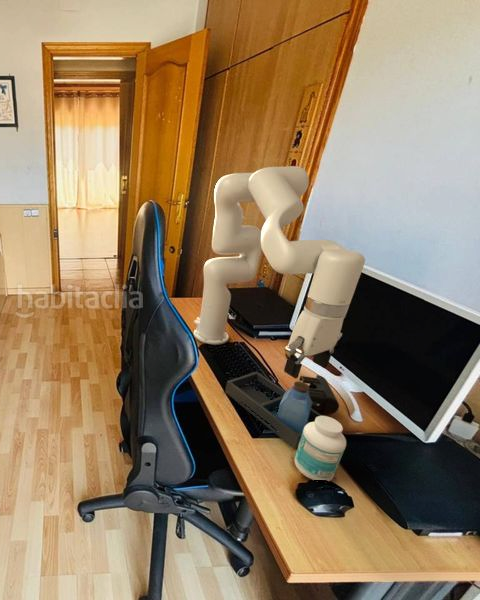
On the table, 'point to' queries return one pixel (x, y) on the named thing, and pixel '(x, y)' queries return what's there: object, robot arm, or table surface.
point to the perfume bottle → (295, 407)
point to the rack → (265, 405)
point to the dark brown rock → (321, 395)
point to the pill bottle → (320, 448)
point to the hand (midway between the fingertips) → (305, 369)
